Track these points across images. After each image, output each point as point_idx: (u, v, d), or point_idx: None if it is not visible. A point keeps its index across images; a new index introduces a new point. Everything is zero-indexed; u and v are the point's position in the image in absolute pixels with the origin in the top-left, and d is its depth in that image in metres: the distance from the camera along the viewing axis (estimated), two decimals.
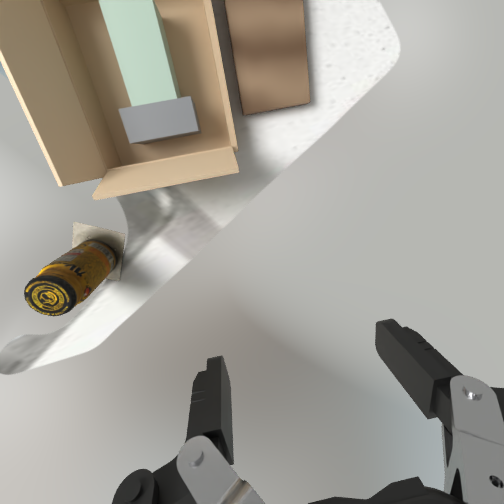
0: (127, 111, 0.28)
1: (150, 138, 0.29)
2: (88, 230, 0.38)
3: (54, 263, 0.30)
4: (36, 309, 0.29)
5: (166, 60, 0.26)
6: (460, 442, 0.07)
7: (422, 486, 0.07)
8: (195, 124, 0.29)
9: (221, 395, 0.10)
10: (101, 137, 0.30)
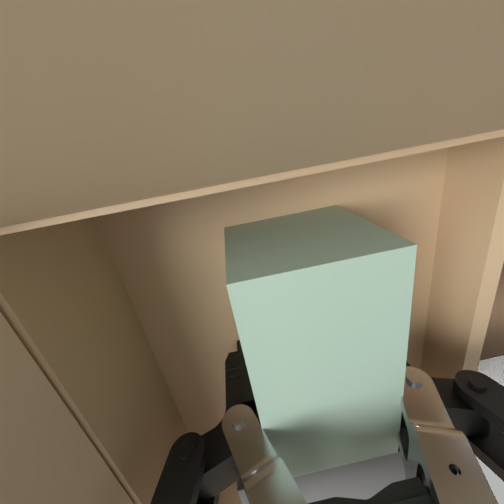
0: None
1: None
2: None
3: None
4: None
5: (400, 391, 0.09)
6: (418, 437, 0.07)
7: (422, 486, 0.07)
8: None
9: None
10: None
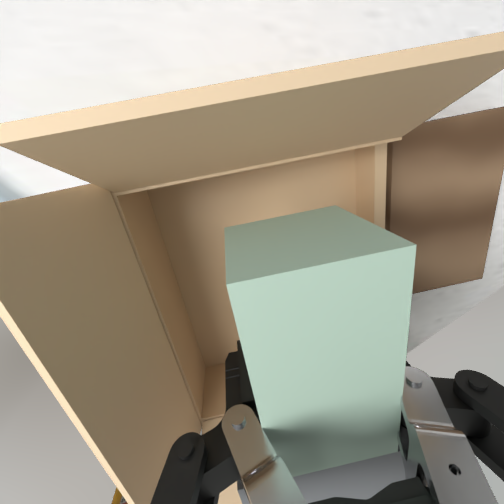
0: None
1: None
2: None
3: None
4: None
5: (399, 391, 0.09)
6: (418, 437, 0.07)
7: (422, 486, 0.07)
8: None
9: None
10: (192, 366, 0.19)
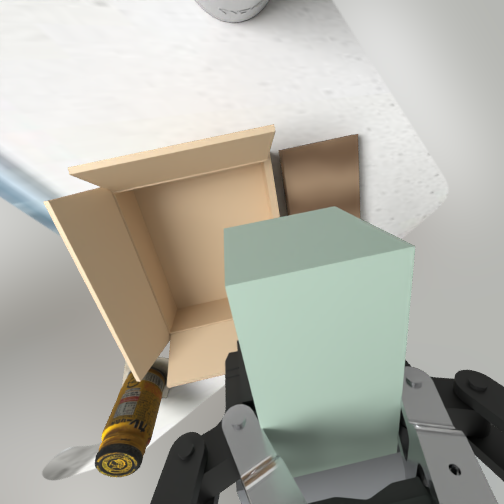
0: None
1: None
2: None
3: (119, 421, 0.31)
4: (105, 473, 0.30)
5: (398, 392, 0.09)
6: (418, 437, 0.07)
7: (422, 486, 0.07)
8: None
9: None
10: (164, 300, 0.31)
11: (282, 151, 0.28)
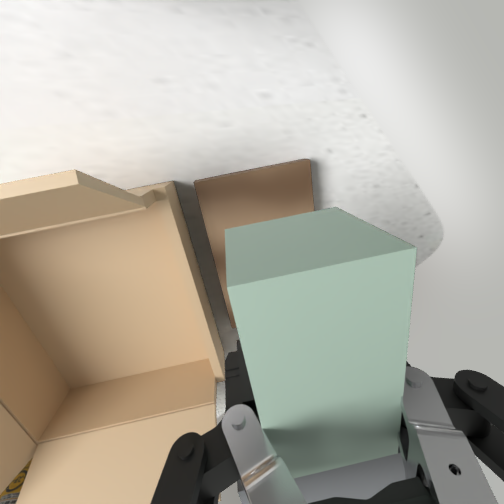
0: None
1: None
2: None
3: None
4: None
5: (399, 392, 0.09)
6: (418, 437, 0.07)
7: (422, 486, 0.07)
8: None
9: None
10: (30, 394, 0.21)
11: (195, 184, 0.19)
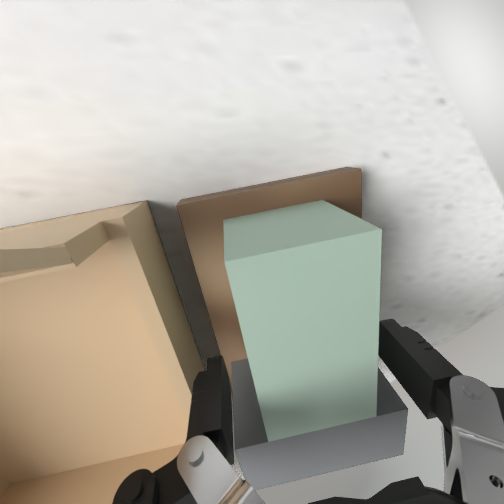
0: (255, 450, 0.11)
1: (296, 478, 0.12)
2: None
3: None
4: None
5: (375, 359, 0.10)
6: (460, 442, 0.07)
7: (422, 486, 0.07)
8: (400, 447, 0.12)
9: (221, 395, 0.10)
10: None
11: (179, 207, 0.12)
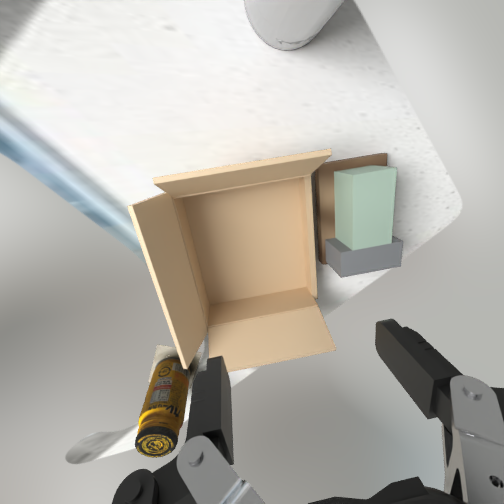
0: (347, 254, 0.31)
1: (359, 273, 0.32)
2: (169, 350, 0.41)
3: (156, 406, 0.34)
4: (143, 453, 0.32)
5: (392, 215, 0.30)
6: (460, 442, 0.07)
7: (422, 486, 0.07)
8: (399, 261, 0.32)
9: (221, 395, 0.10)
10: (203, 296, 0.33)
11: None
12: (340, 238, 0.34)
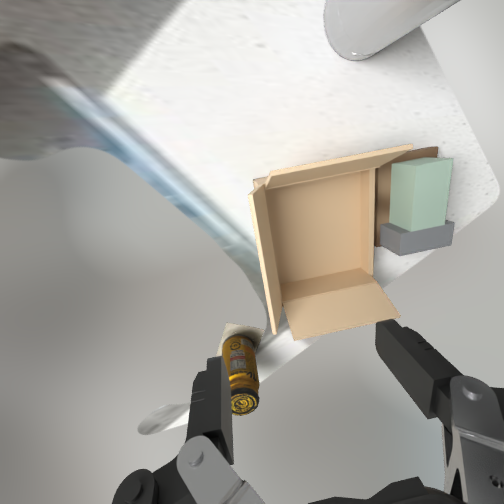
0: (406, 235, 0.36)
1: (415, 252, 0.37)
2: (236, 328, 0.46)
3: (237, 372, 0.39)
4: None
5: (446, 200, 0.34)
6: (460, 442, 0.07)
7: (422, 486, 0.07)
8: (450, 241, 0.37)
9: (221, 395, 0.10)
10: None
11: None
12: (395, 222, 0.38)
